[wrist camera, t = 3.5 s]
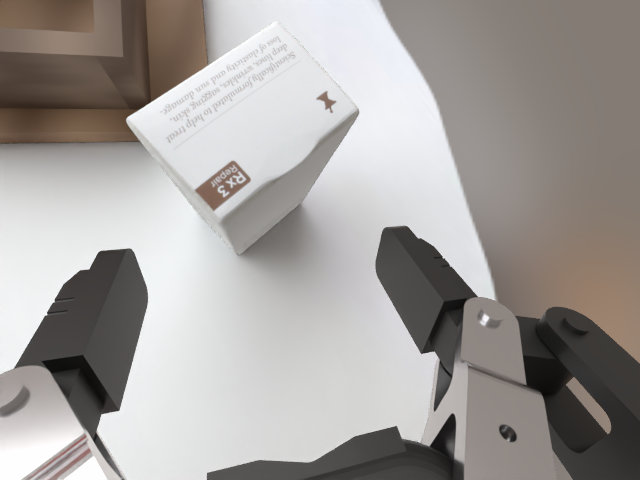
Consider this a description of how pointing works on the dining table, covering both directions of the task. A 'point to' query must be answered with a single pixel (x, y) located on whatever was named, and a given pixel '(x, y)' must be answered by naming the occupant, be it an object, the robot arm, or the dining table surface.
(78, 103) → the sleeve stand
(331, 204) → the dining table surface
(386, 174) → the dining table surface
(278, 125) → the skincare box
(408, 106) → the dining table surface
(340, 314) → the dining table surface
